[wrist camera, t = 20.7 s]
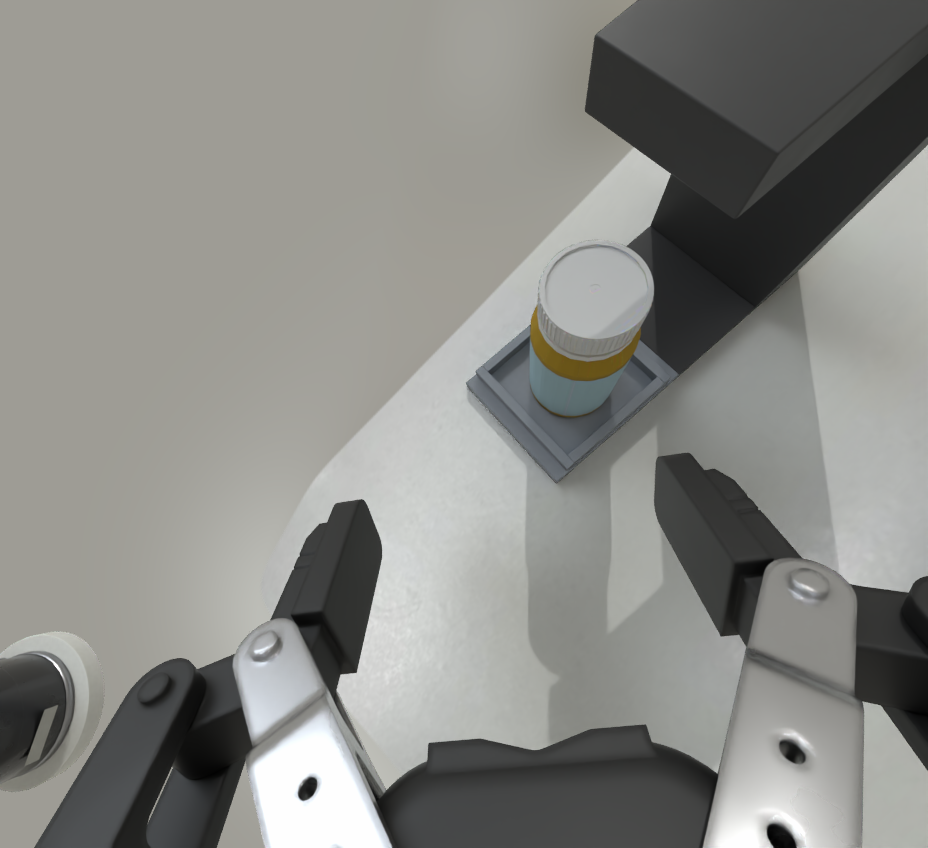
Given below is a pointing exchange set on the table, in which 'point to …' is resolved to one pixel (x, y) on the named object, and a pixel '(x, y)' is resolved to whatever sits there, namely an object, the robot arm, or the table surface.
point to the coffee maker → (732, 172)
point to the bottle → (586, 324)
